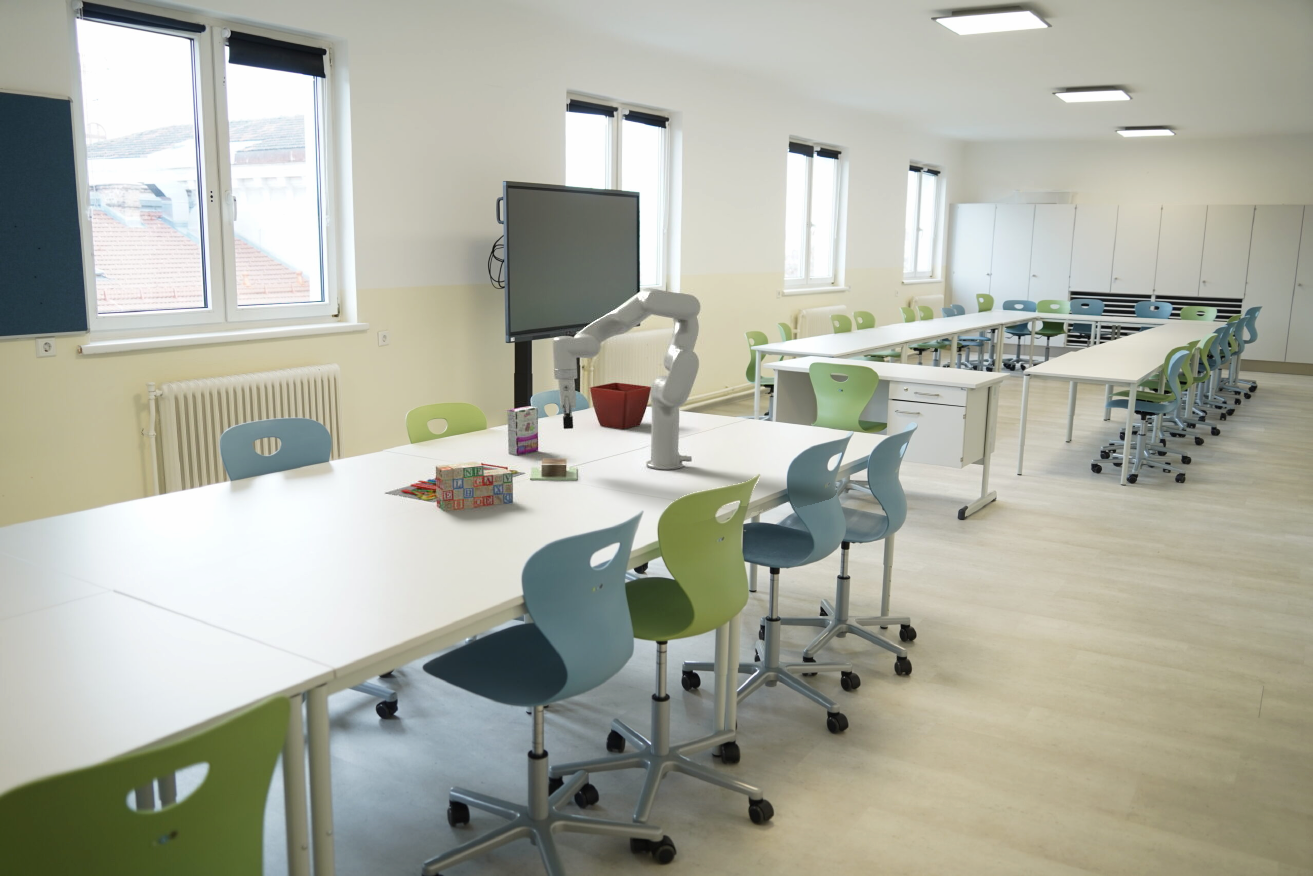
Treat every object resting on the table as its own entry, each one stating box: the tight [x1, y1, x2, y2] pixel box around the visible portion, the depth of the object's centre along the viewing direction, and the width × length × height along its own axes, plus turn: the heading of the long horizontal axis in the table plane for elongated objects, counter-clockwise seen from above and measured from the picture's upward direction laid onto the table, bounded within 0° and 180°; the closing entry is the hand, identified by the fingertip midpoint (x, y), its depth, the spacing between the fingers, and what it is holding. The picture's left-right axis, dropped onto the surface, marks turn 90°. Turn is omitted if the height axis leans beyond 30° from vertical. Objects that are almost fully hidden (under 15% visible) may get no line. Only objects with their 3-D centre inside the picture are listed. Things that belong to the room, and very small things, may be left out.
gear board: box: [385, 462, 526, 503], centre depth 313 cm, size 45×2×19 cm
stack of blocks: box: [435, 461, 514, 512], centre depth 286 cm, size 21×6×12 cm, turn 120°
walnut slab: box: [540, 458, 568, 477], centre depth 325 cm, size 8×4×9 cm
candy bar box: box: [507, 405, 539, 456], centre depth 358 cm, size 11×5×16 cm, turn 143°
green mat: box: [529, 466, 578, 481], centre depth 327 cm, size 15×16×1 cm
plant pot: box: [589, 382, 651, 430], centre depth 415 cm, size 19×19×17 cm
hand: (568, 428), depth 329 cm, fingers closed
